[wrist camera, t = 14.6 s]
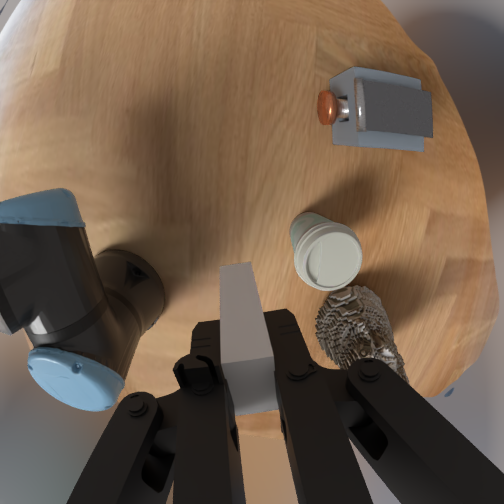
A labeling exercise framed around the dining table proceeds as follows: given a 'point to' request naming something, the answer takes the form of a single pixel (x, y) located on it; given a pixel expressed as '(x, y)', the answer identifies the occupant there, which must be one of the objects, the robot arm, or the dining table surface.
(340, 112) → the lynch pin
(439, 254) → the dining table surface
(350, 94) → the block
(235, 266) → the robot arm
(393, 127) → the keeper plate
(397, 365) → the sculpture
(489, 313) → the dining table surface
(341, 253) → the coffee cup
